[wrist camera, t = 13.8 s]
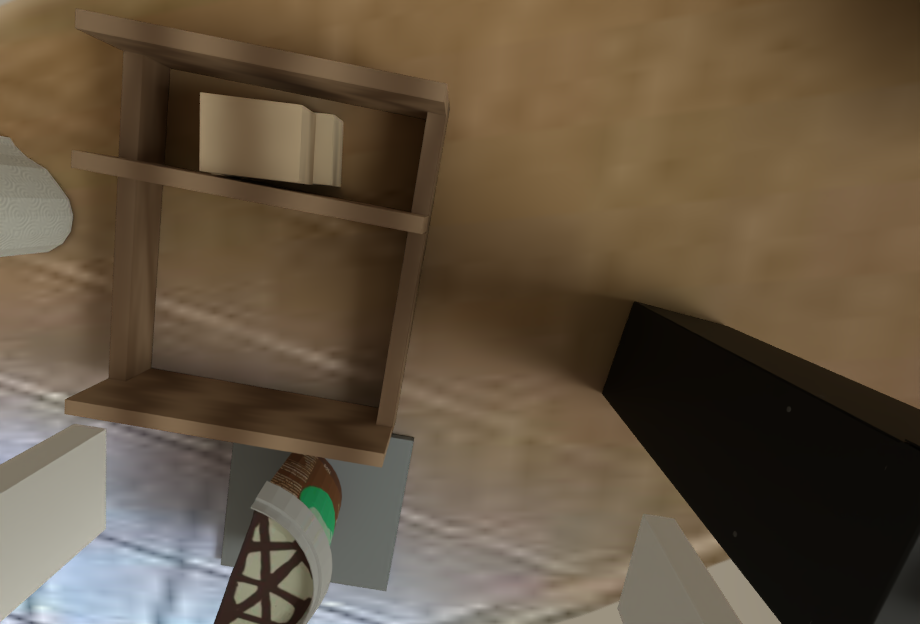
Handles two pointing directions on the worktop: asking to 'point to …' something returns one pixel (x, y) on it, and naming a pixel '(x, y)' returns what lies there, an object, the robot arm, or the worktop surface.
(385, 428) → the rack
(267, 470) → the mat
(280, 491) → the food container
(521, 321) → the worktop surface
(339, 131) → the offcut lower
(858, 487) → the black bar
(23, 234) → the paper towel roll
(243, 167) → the offcut upper
